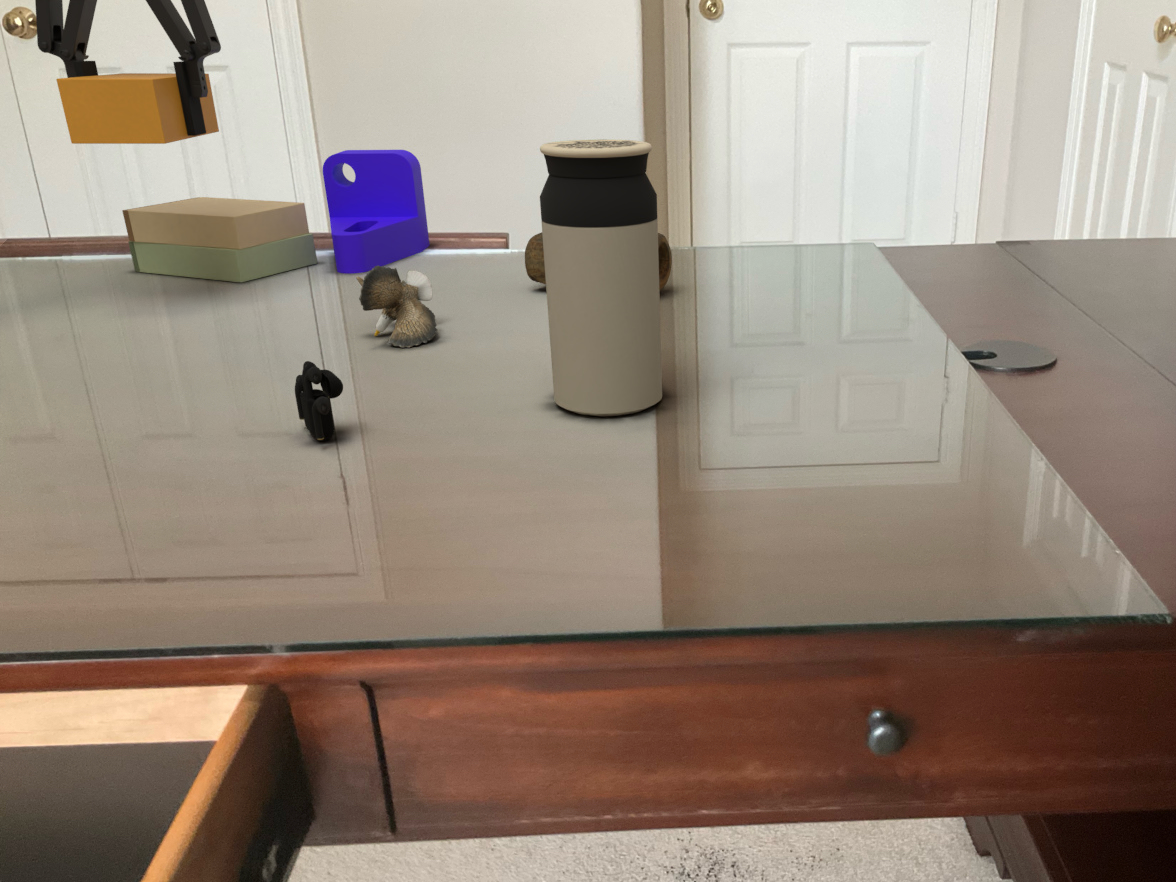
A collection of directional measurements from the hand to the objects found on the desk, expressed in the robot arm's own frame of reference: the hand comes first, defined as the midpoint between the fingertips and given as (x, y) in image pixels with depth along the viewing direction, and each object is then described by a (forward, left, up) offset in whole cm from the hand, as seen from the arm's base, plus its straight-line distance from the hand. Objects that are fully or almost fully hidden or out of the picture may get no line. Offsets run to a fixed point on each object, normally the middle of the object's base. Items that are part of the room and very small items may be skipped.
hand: (148, 134), depth 105 cm
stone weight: (+38, +20, -16) cm, 46 cm away
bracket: (+3, +25, -16) cm, 30 cm away
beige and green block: (-9, +14, -16) cm, 23 cm away
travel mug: (+57, -14, -16) cm, 61 cm away
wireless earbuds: (+43, -28, -16) cm, 54 cm away
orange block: (0, 0, 0) cm, 0 cm away
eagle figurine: (+30, -4, -16) cm, 35 cm away
